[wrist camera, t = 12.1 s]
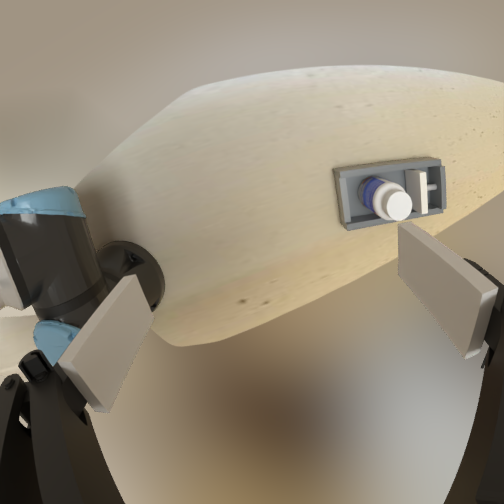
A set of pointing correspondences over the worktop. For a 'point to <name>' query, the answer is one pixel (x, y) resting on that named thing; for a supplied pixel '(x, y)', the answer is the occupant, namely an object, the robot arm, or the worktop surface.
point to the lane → (394, 171)
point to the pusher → (418, 189)
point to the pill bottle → (385, 198)
